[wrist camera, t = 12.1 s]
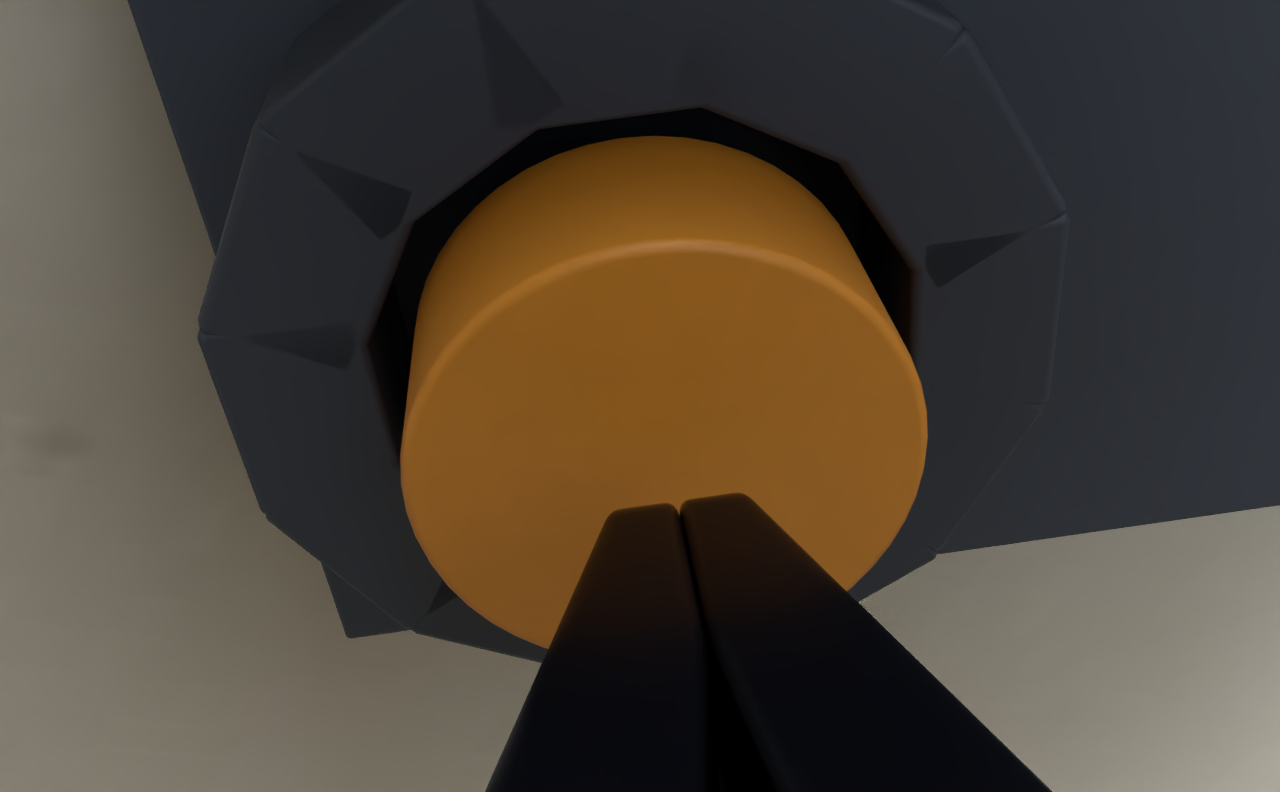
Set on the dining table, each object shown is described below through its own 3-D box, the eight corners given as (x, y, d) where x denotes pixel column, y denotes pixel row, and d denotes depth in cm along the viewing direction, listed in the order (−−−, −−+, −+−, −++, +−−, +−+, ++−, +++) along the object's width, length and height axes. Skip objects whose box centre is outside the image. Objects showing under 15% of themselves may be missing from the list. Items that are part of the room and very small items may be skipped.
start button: (368, 167, 8) (340, 285, 7) (867, 99, 8) (942, 204, 7) (461, 545, 10) (455, 698, 9) (865, 488, 11) (921, 630, 9)
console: (78, -504, 9) (-198, -566, 6) (1794, -714, 10) (2598, -901, 6) (370, 480, 15) (326, 772, 11) (1447, 328, 15) (1749, 564, 12)
